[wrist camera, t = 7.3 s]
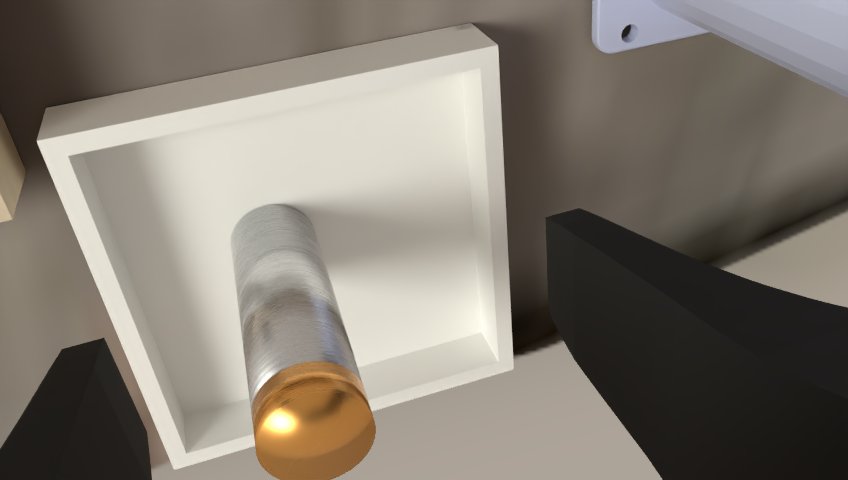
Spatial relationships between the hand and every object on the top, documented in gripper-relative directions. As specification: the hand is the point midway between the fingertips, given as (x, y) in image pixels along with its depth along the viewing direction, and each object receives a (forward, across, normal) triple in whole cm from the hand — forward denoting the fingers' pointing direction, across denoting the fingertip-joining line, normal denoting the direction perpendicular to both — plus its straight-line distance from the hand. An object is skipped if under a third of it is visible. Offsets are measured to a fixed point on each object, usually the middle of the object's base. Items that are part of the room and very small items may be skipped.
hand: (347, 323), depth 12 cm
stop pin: (+9, +1, +4) cm, 10 cm away
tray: (+10, 0, +4) cm, 11 cm away
